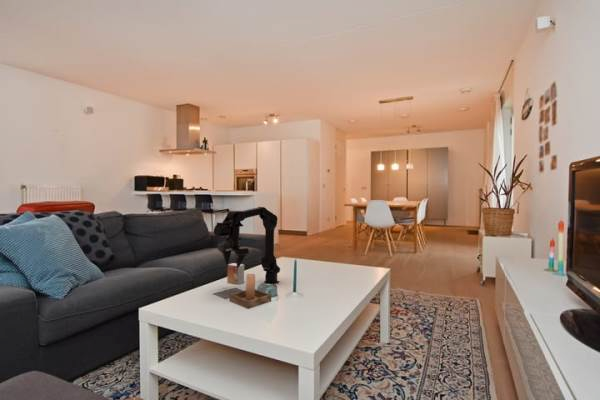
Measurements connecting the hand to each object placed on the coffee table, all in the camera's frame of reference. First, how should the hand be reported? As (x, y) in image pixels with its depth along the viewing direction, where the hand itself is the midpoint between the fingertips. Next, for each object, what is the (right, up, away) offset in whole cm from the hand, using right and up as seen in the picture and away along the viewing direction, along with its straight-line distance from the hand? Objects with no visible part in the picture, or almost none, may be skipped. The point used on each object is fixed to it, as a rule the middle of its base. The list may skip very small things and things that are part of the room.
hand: (232, 265), depth 163 cm
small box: (-2, -14, +20) cm, 25 cm away
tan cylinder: (+11, -14, -11) cm, 21 cm away
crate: (+11, -15, -11) cm, 22 cm away
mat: (-1, -14, 0) cm, 14 cm away
